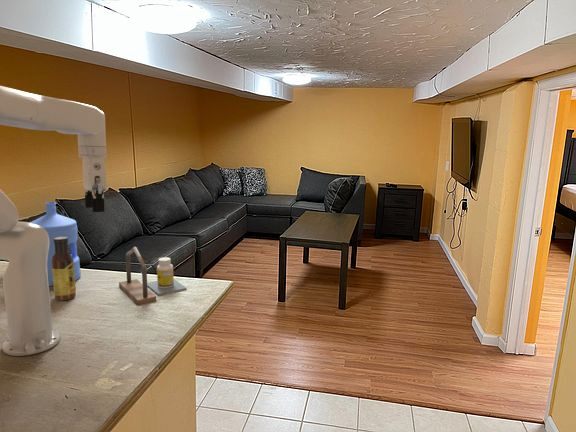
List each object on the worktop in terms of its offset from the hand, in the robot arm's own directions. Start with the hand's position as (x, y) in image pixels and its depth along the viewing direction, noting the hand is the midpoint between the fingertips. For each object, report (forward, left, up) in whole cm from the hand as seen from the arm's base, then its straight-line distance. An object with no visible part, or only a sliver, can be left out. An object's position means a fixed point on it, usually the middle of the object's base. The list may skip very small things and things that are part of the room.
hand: (94, 209), depth 130 cm
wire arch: (+1, -12, -30) cm, 32 cm away
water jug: (+30, +7, -30) cm, 43 cm away
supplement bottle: (+1, -22, -30) cm, 37 cm away
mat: (+1, -22, -30) cm, 37 cm away
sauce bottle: (+10, +8, -30) cm, 33 cm away
